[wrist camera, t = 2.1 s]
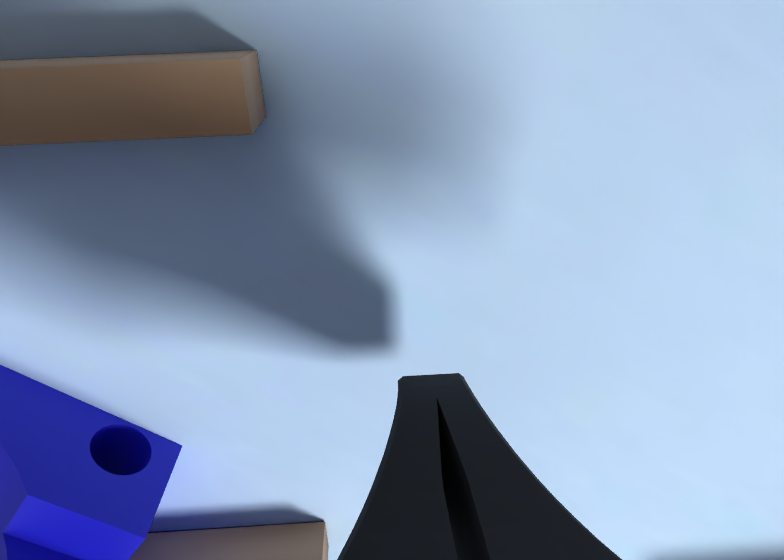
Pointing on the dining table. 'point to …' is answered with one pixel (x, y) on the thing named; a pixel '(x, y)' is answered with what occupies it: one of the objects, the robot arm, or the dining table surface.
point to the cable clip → (74, 476)
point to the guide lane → (153, 121)
